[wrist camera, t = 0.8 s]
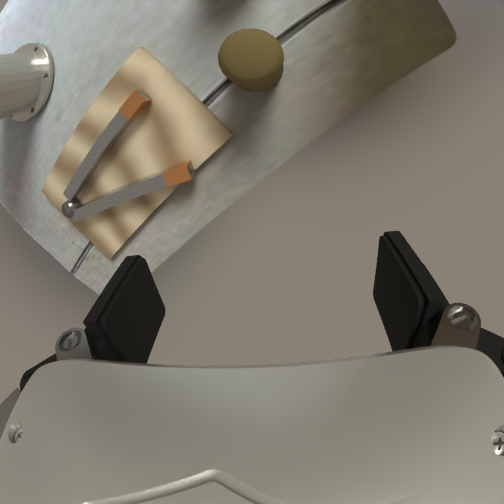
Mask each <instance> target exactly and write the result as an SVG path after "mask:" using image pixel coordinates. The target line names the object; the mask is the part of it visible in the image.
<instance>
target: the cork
mask: <svg viewBox="0 0 504 504" xmlns="http://www.w3.org/2000/svg"><path fill="white" fill-rule="evenodd" d="M218 61H219V66H220V68H221V70H222V73H223V74H224V75H225V76H226V77H227V78H228V79H229V80H231V81H233V82H234V83H236V84H237V85H238V86H240V87H241V88H243V89H245V90H249V91H263V90H266V89H269V88H271V87H272V86H274V85H275V84H276V83H277V82H278V81H279V79H280V78H281V76H282V73H283V62H284V54H283V49H282V47H281V45H280V43H279V42H278V41H277V39H276V38H275V37H274V36H273V35H271V34H269V33H267V32H266V31H263V30H259V29H243V30H240V31H237V32H234V33H233V34H232V35H230V36H229V37H227V38H226V40H225V41H224V42H223V44H222V45H221V47H220V50H219V54H218Z"/></svg>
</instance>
